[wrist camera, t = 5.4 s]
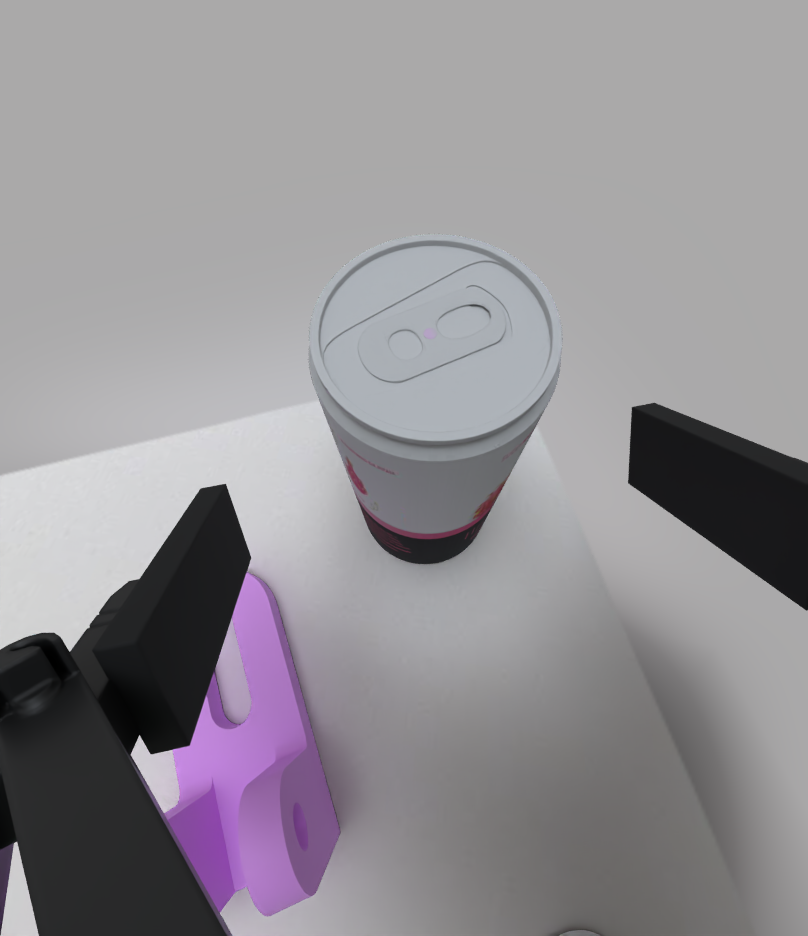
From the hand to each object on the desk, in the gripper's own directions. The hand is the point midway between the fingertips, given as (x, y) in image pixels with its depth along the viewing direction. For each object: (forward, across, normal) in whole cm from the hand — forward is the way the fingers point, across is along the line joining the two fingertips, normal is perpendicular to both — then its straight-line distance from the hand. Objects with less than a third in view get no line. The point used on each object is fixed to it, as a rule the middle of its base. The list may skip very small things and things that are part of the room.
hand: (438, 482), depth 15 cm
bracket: (+4, -10, -11) cm, 16 cm away
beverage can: (+9, 0, -6) cm, 11 cm away
